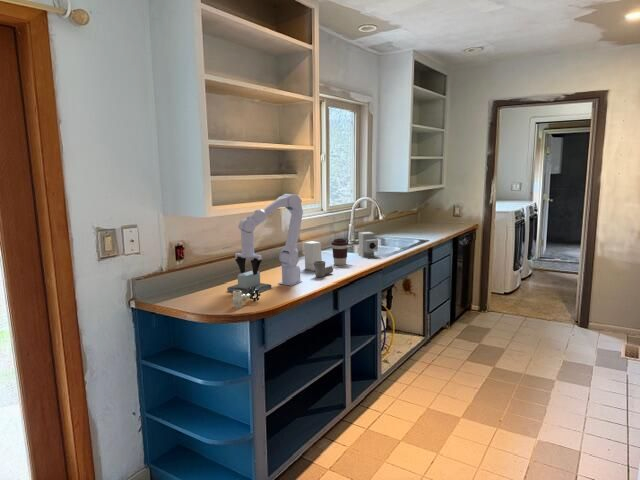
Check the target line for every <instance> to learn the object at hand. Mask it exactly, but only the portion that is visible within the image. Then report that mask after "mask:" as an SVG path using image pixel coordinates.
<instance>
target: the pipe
mask: <svg viewBox="0 0 640 480" xmlns="http://www.w3.org/2000/svg"><path fill="white" fill-rule="evenodd" d="M313 264H314V267H315V272H314V273H315V277H317V278H322V277H325V276H326V275H329V274H331V273H333V272H334V267H333V266H332V265H329V266H326V261H325V260H322V261H315V262H313Z"/></svg>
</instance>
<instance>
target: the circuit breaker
mask: <svg viewBox="0 0 640 480" xmlns="http://www.w3.org/2000/svg"><path fill="white" fill-rule="evenodd" d="M357 236H358V238H357V239H358V251H357V252H358V254H357V255H358V256H360V257H362V258H369V257H370V258H371V257H375V253H376V252H378V251H379V250H378V247H379V245H378V244H379V243H378V242H379V241H378V239H376V238H375V233H374V232H372V231H365V232H363V231H361V232H358V235H357Z"/></svg>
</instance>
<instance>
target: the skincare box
mask: <svg viewBox="0 0 640 480" xmlns="http://www.w3.org/2000/svg"><path fill="white" fill-rule="evenodd" d="M303 249H304V250H303V252H304V269H305V270H307V271H308V270H309V271H313V272H314V271H315V267H314V264H313V262H315V261H323V259H322V242H320V241H313V240H311V241H306V242H303Z"/></svg>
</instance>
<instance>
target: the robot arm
mask: <svg viewBox="0 0 640 480" xmlns="http://www.w3.org/2000/svg"><path fill="white" fill-rule="evenodd" d="M302 200H303V199H301V197H300V196H299V195H298V194H295V193H293V194H291V193H284V194H282V195H281V196H278V197H277V198H276V199H275V200H274V201H273V202H271V203H270V204H268V205H267V206H266V207H265V208H263V209H255V210H254V212H253V213H252V214H251V215H247V216H246V218H242V219H241V220H240V222H239V224H238V228H239V230H240V239H241V241H240V242H241V252H235V253H234V256H235V259H234V260H235V262H236V264H237V266H238V268H239V271H240V274H242V273H245V272H246V262H247V261H246V260H247V259H250V263H251V267H252V271H253V275H256V274H257V273H258V272H259V268H260V265H261V263H262V260H263V256H262V254H258V253H255V240H254V239H255V237H254V231H255V229H256V228H257V226H259V225H261V224H262V223H263V222H265V221H266V220H267V218H268V216H269V215H271V214H272V213H274V212H275V211H277V210H278V209H280V208H285V209H287V210H288V211H289V213H290V219H289V220H290V221H289V225H288V230H287V235H286V240H285V245H284V246H283V247H282V249H281V252H280V254H279V255H278V259H279V262H280V263H281V281H280V282H278V285H285V286H291V287H292V286H295V285H297V284H299V283H303V281H302V279H301V268H300V265H298V263H299V250H298V248H297V246H298V240H299V235H300V230H301V226H302V225H301V224H302V219H303V213H304V210H303V206H302Z"/></svg>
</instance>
